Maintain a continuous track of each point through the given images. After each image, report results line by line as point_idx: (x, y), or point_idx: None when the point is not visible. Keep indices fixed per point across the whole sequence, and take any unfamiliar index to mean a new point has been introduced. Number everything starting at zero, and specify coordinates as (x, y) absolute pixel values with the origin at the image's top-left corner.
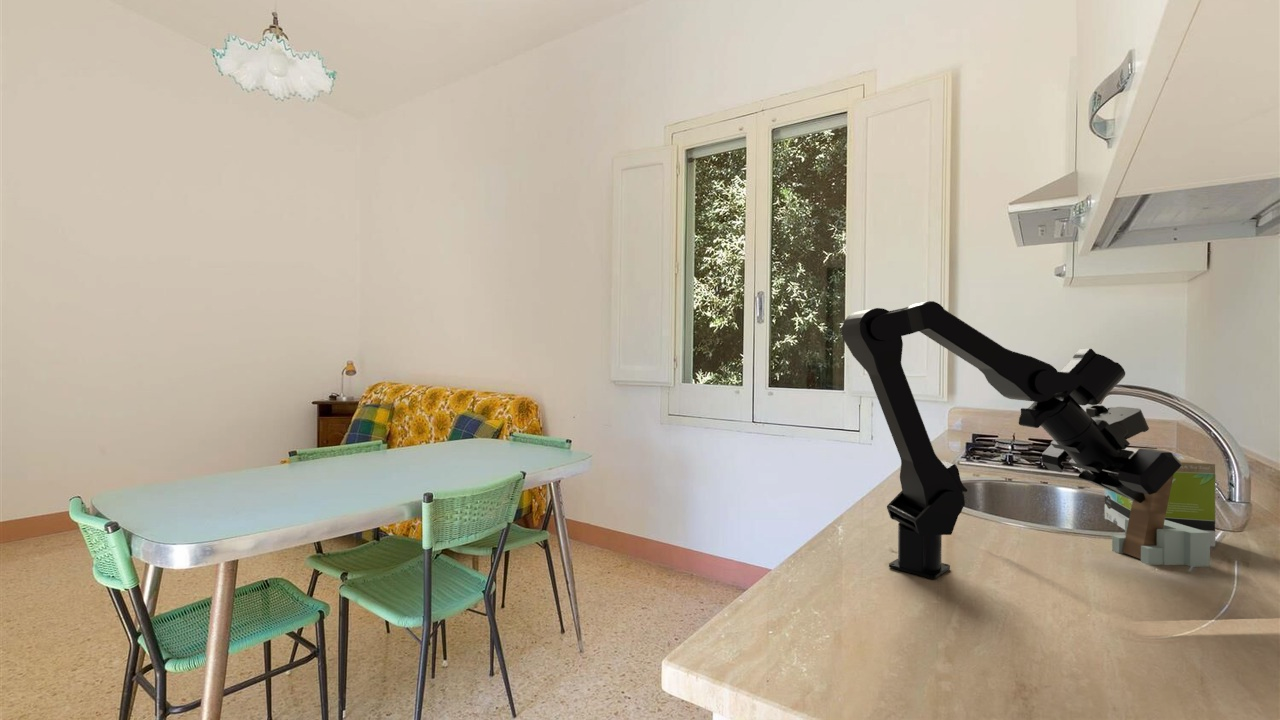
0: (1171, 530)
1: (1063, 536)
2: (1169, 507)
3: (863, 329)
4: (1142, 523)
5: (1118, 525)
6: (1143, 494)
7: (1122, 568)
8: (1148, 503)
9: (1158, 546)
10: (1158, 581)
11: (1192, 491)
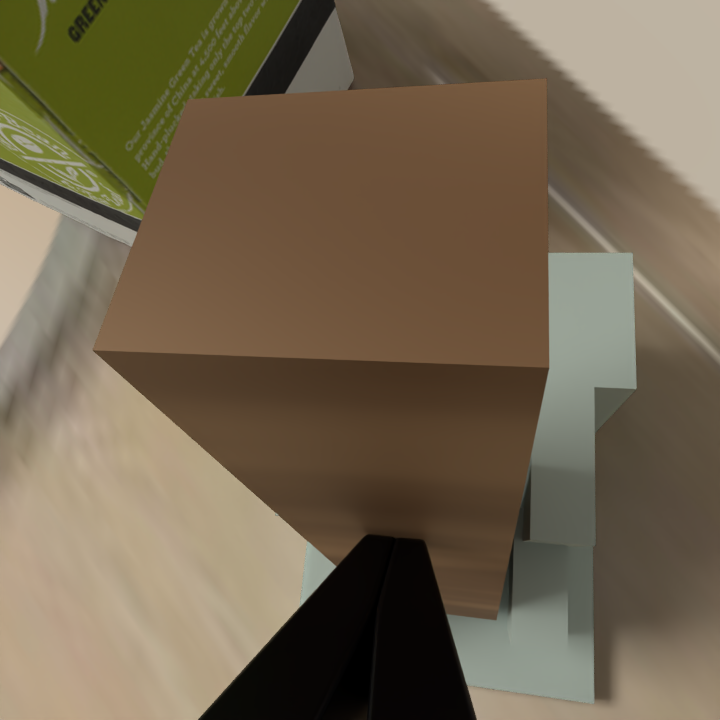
0: (571, 464)
1: (23, 523)
2: (203, 78)
3: None
4: (458, 585)
5: (38, 199)
6: (436, 585)
7: (476, 709)
8: (475, 555)
9: (535, 542)
10: (677, 715)
11: None
